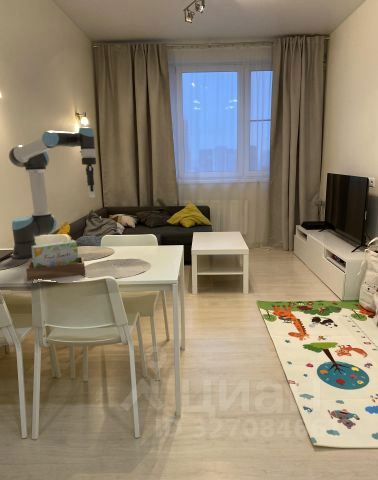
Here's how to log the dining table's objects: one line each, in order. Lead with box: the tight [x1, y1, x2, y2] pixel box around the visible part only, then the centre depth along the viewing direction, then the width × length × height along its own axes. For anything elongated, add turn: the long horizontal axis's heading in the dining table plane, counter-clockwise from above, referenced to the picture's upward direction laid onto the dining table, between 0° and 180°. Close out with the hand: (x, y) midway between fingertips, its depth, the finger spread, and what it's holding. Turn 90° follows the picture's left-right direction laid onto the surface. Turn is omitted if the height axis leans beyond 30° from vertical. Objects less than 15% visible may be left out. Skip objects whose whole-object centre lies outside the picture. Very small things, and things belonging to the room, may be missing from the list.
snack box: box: [31, 239, 79, 268], centre depth 186 cm, size 21×6×15 cm, turn 125°
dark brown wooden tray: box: [25, 256, 86, 282], centre depth 187 cm, size 14×27×6 cm, turn 108°
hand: (91, 196), depth 203 cm, fingers open, 13 cm apart
